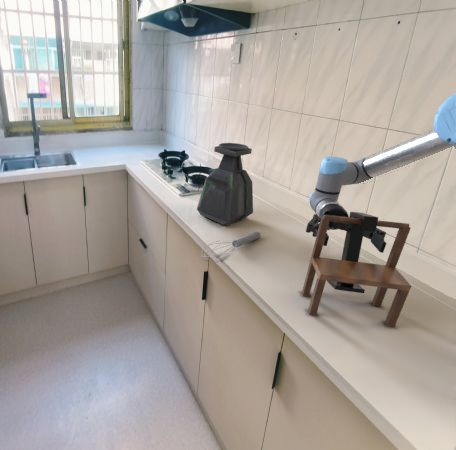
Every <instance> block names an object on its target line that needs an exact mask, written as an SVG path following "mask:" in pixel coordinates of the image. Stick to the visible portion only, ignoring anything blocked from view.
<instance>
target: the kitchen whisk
mask: <svg viewBox="0 0 456 450" xmlns="http://www.w3.org/2000/svg"><path fill="white" fill-rule="evenodd" d="M261 235H262V232H260V231H253V232H251V233H248V234H245V235H243V236H241V237H239V238H236V239H234V240H230V241H224V243H220V244H219V240H217V241H213V242H212V243H209V244H207V245H205V246H204V247H203V248H202V249H201V251H203V250H204V251H205V252H204V253H203V252H201V255H200V257H201V258H203V259H204V260H205V262H208V261H210V262H209V264H210V265H214V264H216V263H217V261H214V262H212V259H214V257H218V256H220V255H222V254H223V253H226V252H227V251H229V252H228V253H227V254H226V255H225V256H223V257H222V258H221V259H219V260H218V262H220V261H222V260H224V259H226V258H227V257H228V256H229V255H230V254H231V253H232V252H233V251H234V250H235V249H236V248H239V247H241V246H243V245H246V244H248V243H250V242H253V241H255V240H258V239H259V238H260V237H261ZM214 244H215V245H216V246H215V247H213V248H212V249H210V250H209V251H206V250H207V248H208V246H212V245H214ZM226 244H228V245H226ZM222 245H225V246H222ZM220 246H221V247H220ZM228 246H231V247H228ZM217 247H218V248H217ZM224 247H228V249H226V250H225V251H223V252H220V253H217V254H214V255H212V258H211V255H208V254H209V253H210V252H214V251H215V250H219V249H221V248H224ZM211 262H212V263H211Z"/></svg>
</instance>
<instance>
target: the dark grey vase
mask: <svg viewBox="0 0 456 450" xmlns="http://www.w3.org/2000/svg"><path fill="white" fill-rule="evenodd" d="M213 149H214V150H213V152H215V153H218V154H221V155H223V156H222V157H221V160H220V162H219V165H218V167H216V168H214V169H213V170H212V171H211V172H210V173H209V174H208V175H207V177H206V178H205V180H204V184H203V186H202V190H201V194H200V196H199V201H198V203H197V207H196V210H197V211H198V213H199V215H200V216H202V217H204V218H207V219H209V220H212V221H214V222H216V223H218V224H221V225H224V226H228V225H229V226H230V225H231V224H235V223H237V222H239V221H240V222H241V221H242V220H244V219H246V218H247V217H249V216H250V215H252V214H253V213H254V194H253V180H252V178H251V177H250V174H249V173H248V171H247V170H245V169H244V168H243V162H242V161H243V160H242V156H247V155H251V154H252V151H253V148H250V147H249V146H248V145H246V144H243V143H237V142H236V143H235V142H222V143H219V144H218V146H214V148H213Z"/></svg>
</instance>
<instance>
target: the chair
mask: <svg viewBox="0 0 456 450" xmlns="http://www.w3.org/2000/svg"><path fill="white" fill-rule="evenodd" d="M329 221H333V222H343V223H352V224H362V219H359V218H350V217H340V216H330V215H324V216H323V217H321V221H320V222H319V223H320V225H319V229H318V232H317V236H316V237H315V240H314V244H313V248H312V252H311V256H310V260H309V264H308V267H307V271H306V275H305V277H304V283H303V287H302V291H301V294H302V296H303V297H310V294H311V291H312V287H313V284H314V279H315V276H316V275H317V276H316V281H315V284H314V288H313V292H312V294H311V295H312V296H311V299H310V302H309V306H308V309H307V312H308V314H309V316H310V315H311V316H315V317H316V316H317V313H318V310H319V307H320V304H321V300H322V296H323V294H324V293H323V292H324V289H325V285H326V282H327V280H329V281H337V282H344V283H352V284H358V285H359V286H366V287H367V286H369V287H376V289H375V292H374V295H373V298H372V300H371V303H372V305H373V306H374V307H379V308H381V307H382V304H383V302H384V300H385V296H386V294H387V291H388V289H390V290H396V292H395V295H394V297H393V300H392V303H391V305H390V308H389V310H388V312H387V315H386V317H385V320H384V324H385V325H386V327H388V328H395V327H396V324H397V322H398V320H399V317H400V315H401V313H402V309H403V308H404V305H405V304H406V303H405V302H406V301H407V298H408V296H409V293H410V291H411V288H412V285H411V284H410V283H409V282H408V280H407V279H406V278H405V277H404V275H402V273H401V272H400V271H399V269H397V268H396V267H397V265H398V263H399V260H400V257H401V256H402V255H401V254H402V252H403V250H404V246H405V244H406V242H407V239H408V236H409V234H410V232H411V230H412V229H411V227H410V223H405V222H399V221H398V222H396V221H387V220H378V221H377V227H379V228H380V227H381V228H390V229H391V228H392V229H398V230H397V233H396V234H395V235H396V236H395V238H394V241H393V243H392V247H391V249H390V252H389V255H388V257H387V260H386V263H385V264H377V263H370V262H361V261H358V262H354V261H346V260H341V259H337V258H331V257H330V258H329V257H321V254H322V250H323V247H324V246H323V243H324V240H325V236H326V233H328V230H327V229H328V225H329Z"/></svg>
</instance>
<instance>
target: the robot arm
mask: <svg viewBox="0 0 456 450" xmlns="http://www.w3.org/2000/svg"><path fill="white" fill-rule="evenodd" d="M433 129H434V130H432V129H430V130H431V131H430V130H428V131H429V132H427V131H426V132H427V133H425V132H423V133H424V134H422V133H421V134H422V135H420V134H418V135H419V136H418V135H416V136H417V137H415V136H413V137H414V138H413V137H411V138H412V139H411V138H408V139H409V140H408V139H406V140H407V141H406V140H404V142H403V141H401V142H402V143H401V142H399V143H400V144H399V143H396V144H397V145H396V144H394V145H395V146H394V145H392V146H393V147H392V146H389V147H390V148H389V147H387V148H388V149H387V148H384V149H385V150H384V149H382V150H383V151H382V150H380V151H378V153H377V152H375V153H372V154H370V155H368V156H366V157H363V158H361V159H358V160H355V161H348V159H346V158H344V157H339V156H326V157H323V159H322V161H321V164H320V167H319V169H318V175H317V180H316V184H315V189H314V191H313V192H312V193H311V194H310V196H309V199H308V202H309V205H310V208H311V209H312V211H313V212H314V213H313V216H312V218H311V219H310V220H309V221H308V222H307V225H306V227H305V233H307V234H310V233H312V234H311V235H312V237H314V238H316V236H317V232H318V229H319V225H320V221H321V217H323V216H324V215H330V216H340V217H349V216H350V215H349V213H348V212H347V210H346V208H344V207H343V205H342V204H341V203H340V202H339V201H338V200H339V196H340V193H341V190H342V187H343V186H350V185H359V183H361V182H364V181H366V180H369V179H371V178H373V177H376V176H379V175H382V174H384V173H387V172H389V171H391V170H394V169H397V168H400V167H403V166H405V165H408V164H410V163H412V162H415V161H417V160H420V159H423V158H425V157H428V156H430V155H433V154H435V153H438V152H440V151H443V150H445V149H447V148H450V147H452V146H454V147H455V149H456V92H455V93H453V94H451V95H450V96H449V97H447V98H446V99H445V100H444V101H443V102H442V103H441V105H440V106H439V107H438V108H437V111H436V113H435V115H434V119H433ZM382 176H383V175H382ZM379 177H380V176H379ZM347 227H348V223H343V222H333V221H329V225H328V229H327V231H330V230H332V231H335V230H340V231H344V232H347ZM386 235H387V232H386V231H385V230H383V229H380V228H378V227H376V232H371V231H364V234H363V238H366V239H368V240H370V243H371V244H372V245H373V246H374V248H375V249H376V250H377V251H378V252H379V253H383V254H384V252H385V249H386V246H387V242H386V241H385V237H386ZM329 239H330V236H329V234H328V232H326V236H325V240H324V243H323V247H327V246H328V242H329Z"/></svg>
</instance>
